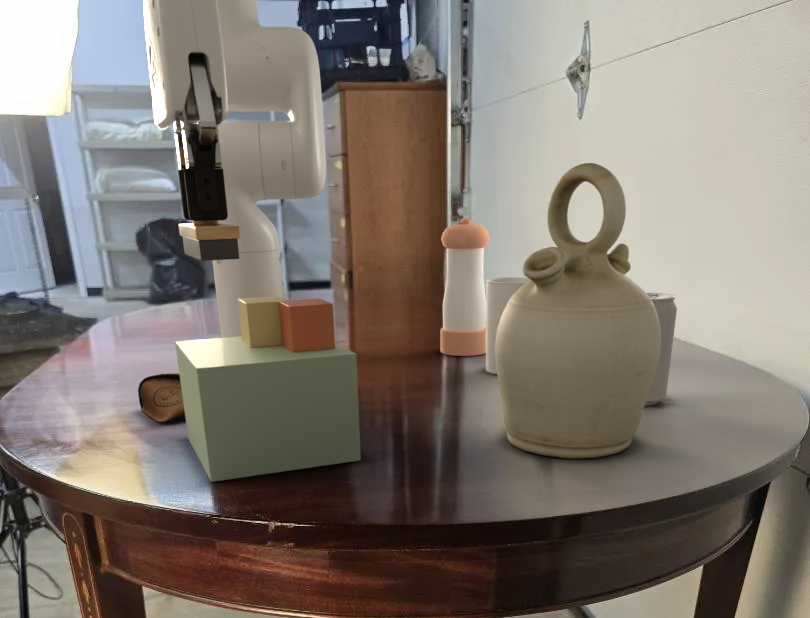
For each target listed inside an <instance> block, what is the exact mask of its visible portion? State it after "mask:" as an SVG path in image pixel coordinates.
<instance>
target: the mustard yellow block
mask: <svg viewBox="0 0 810 618" xmlns="http://www.w3.org/2000/svg"><path fill="white" fill-rule="evenodd" d="M279 301H289V299H286V298H282V297H280V296H269V297H253V298H239V299H238V306H239V316H240V325H241V335H242V341H243V342H244V343H245V344H247V345H248V346H249V347H250V348H255V347H267V346H278V345H282V335H281V323H280V310H279Z"/></svg>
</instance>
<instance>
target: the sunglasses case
mask: <svg viewBox="0 0 810 618" xmlns="http://www.w3.org/2000/svg"><path fill="white" fill-rule="evenodd" d="M137 394H138V401H139V405H140V410H141V412H142V413H143V414H144V415H146V416H147V417H148V418H149V419H151V420H152V421H155V422H158V423H169V422H173V421H176V420H181V419H186V418H185V411H184V403H183V396H182V389H181V382H180V375H179V372H177V373H175V372H174V373H173V372H172V373H159V374H155V375H149V376H147V377H144V378H143V379H142V380H141V381H140V382H139V384H138V388H137Z"/></svg>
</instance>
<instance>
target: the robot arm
mask: <svg viewBox="0 0 810 618" xmlns="http://www.w3.org/2000/svg"><path fill="white" fill-rule="evenodd" d="M142 3H143V21H144V34H145V43H146V55H147V62H148V71H149V72H148V73H149V81H150V90H151V100H152V112H153V120H154V124H155V126H156V127H157V128H158V129H160V130H166V129H167V128H169V127H170V126H172V125H173V130H174V132H173V133H174V139H175V147H176V155H177V162H178V163H177V164H178V170H177V176H178V183H179V184H178V185H179V191H180V198H181V207H182V208H181V209H182V214H183V215H182V216H183V218H184V219H185V220H186V221H192V222H193V221H215V220H221V224H228V225H236V226H239V229H240V239H238V248H239V259H229V260H211V261H212V268H213V278H214V288H215V295H216V296H215V297H216V304H217V313H218V321H219V329H220V330H219V331H220V338H223V337H235V336H242V335H241V325H240V316H239V306H238V299H239V298H253V297H269V296H280V297H282V298H284V284H283V273H282V272H283V271H282V259H281V245H280V238H279V235H278V231H277V228H276V227H275V225H274V223H273V222H272V221H271V220H270V219H269V218H268V216H267V215H265V214H264V212H263V211H262V210H261V209H260V208H259V206H258V204H257V202H259V201H267V200H300V199H302V200H303V199H311V198H316V197H317V196H319V195H320V194H321V193H322V192H323V190H324V188H325V185H326V179H327V177H326V176H327V160H326V159H327V158H326V143H325V141H326V140H325V128H324V126H325V125H324V111H323V98H322V82H321V81H322V80H321V72H320V71H321V70H320V63H319V57H318V53H317V49H316V46H315V43H314V40H313V39H312V38H311V36H310V35H309V34H308V33H307V32H306V31H304V30H302V29H300V28H297V27H292V26H262V25H260V20H259V12H258V11H259V9H258V0H143V1H142ZM229 112H282V113H284V114H285V115H287V117H288V118H289V119H290V120H226V119H227V118H228V114H229ZM225 120H226V121H225ZM184 151H185V154H184ZM185 159H186V162H185ZM186 165H187V168H193V169H186ZM284 299H285V298H284Z"/></svg>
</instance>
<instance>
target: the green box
mask: <svg viewBox="0 0 810 618" xmlns="http://www.w3.org/2000/svg"><path fill="white" fill-rule="evenodd" d="M174 343H175V344H174V345H175V353H176V360H177V366H178V374H179V375H180V382H181V389H182V396H183V403H184V411H185V418H184V419H185V425H186V431H187V432H186V433H187V438H188V441H189V443H190V445H191V447H192V448H193V451H194V452H195V454H196V456H197V458H198V460H199V462H200V464H201V465H202V467H203V470H204V471H205V473H206V475H207V477H208V479H209V480H210V482H211V483H214V482H219V481H221V482H222V481H227V480H235V479H241V478H248V477H255V476H262V475H269V474H276V473H283V472H291V471H296V470H297V471H299V470H304V469H311V468H318V467H323V466H331V465H337V464H339V465H340V464H346V463H351V462H359V461H360V462H361V460H362V458H361V454H362V453H361V436H360V433H361V431H360V411H359V409H360V408H359V388H358V387H359V386H358V364H357V363H358V362H357V353H355V352H354V351H352V350H350V349H348V348H346V347H345V346H343V345H341V344H339V343H337V342H335V349H326V350H315V351H304V352H292V351H290V350H289V349H287V348H286V347H285V346H283V345H278V346H267V347H255V348H250V347H249V346H248V345H247V344H245V343H244V342H243V341H242V336H235V337H223V338H221V337H211V338H199V339H189V340H176V341H174Z"/></svg>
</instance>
